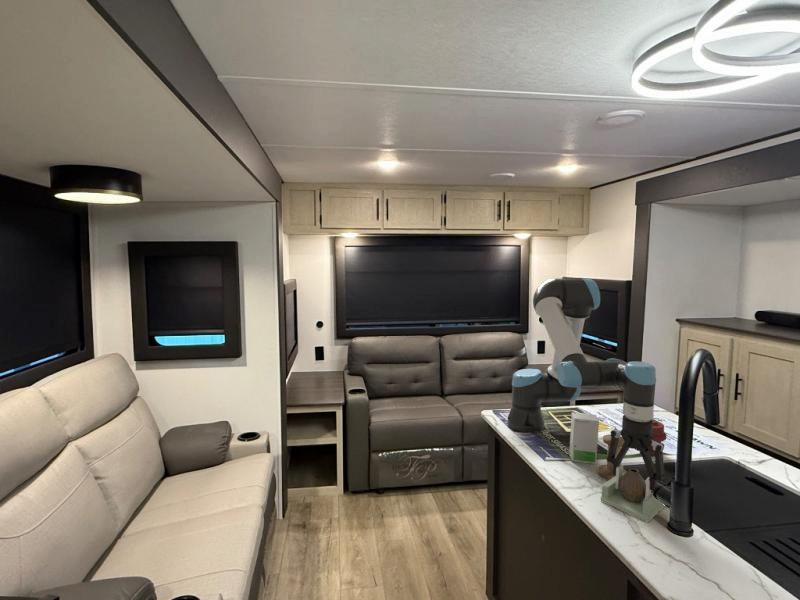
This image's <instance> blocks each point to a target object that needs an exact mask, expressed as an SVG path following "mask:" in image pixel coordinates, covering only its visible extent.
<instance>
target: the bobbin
mask: <svg viewBox="0 0 800 600" xmlns="http://www.w3.org/2000/svg"><path fill="white" fill-rule="evenodd" d="M602 442H603V443H604V444H606V445H607V451H606V452H607V454H606V457H607V456H608V451H609V447H610V442H611V434H605V435H603V437H602ZM624 442H625V441H624V440H623V438H622V436H621V435H620V437H619V441H618V446H617V450H616V455H615V459H616V457H617V455H618V453H619V452H620V450H621V448H622V446H623V444H624ZM620 465H622V463H620ZM623 472H625V473H627V472H628V471H627V470H626V469H624V468H623ZM597 475H599V476H600V477H601V478H603V479H604V480H606V481H609V480H610V479H612V478H613V477H615V476H614V475H613V464H612V463H611V462H608V461H607V460H606V464H602V465H599V466H598V469H597Z"/></svg>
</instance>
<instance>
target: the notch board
mask: <svg viewBox="0 0 800 600" xmlns="http://www.w3.org/2000/svg"><path fill="white" fill-rule="evenodd" d="M624 474H626V473H625V472H623V475H624ZM644 481H645V483H646V479H644ZM615 485H616V476H615V477H613V478H612V479H610V480H606V482H605V483H603V484H602V486H601V487H602V488H601V496H600V499H599V500H601V501H600V502H602V501H603V502H602V503H604V502H605V503H604V504H606V503H607V504H606V505H608V504H610V505H609V506H611V505H612V506H611V507H613V506H614V507H613V508H615V507H616V508H615V509H617V508H619V509H620V510H619V509H618V510H619V511H621V512H624V511H625V512H624V513H626V512H627V513H626V514H628V513H630V514H631V516H633V517H635V518H637V519H639V518H640V519H639V520H641V519H642V521H644V522H646V521H647V522H646V523H650V521H652V519H654V518H655V517H656V516H657V515H658V514H659V513H660V512H661V511H662V510H663V509H664V508H665V507H664V505H663V504H662V503H661V502H660V501H659V500H657V499H656V498H655V497H654V496H653V495H651V496H650V497H648V498H647V499H646V500H645V498H644V500H643V501H641V502H639V503H632V502H629V501H627V500H626V499H625V498H624V497H623V496H622V494H621V492H620V488H619V489H616V488H615ZM661 509H662V510H661ZM660 510H661V511H660ZM659 511H660V512H659ZM658 512H659V513H658ZM657 513H658V514H657ZM630 514H629V515H630ZM656 514H657V515H656ZM655 515H656V516H655ZM654 516H655V517H654ZM653 517H654V518H653Z"/></svg>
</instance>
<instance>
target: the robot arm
mask: <svg viewBox="0 0 800 600" xmlns="http://www.w3.org/2000/svg"><path fill="white" fill-rule="evenodd" d="M532 305H533V309H534V311H535V314H536V315H537V316H538V317H539V318H541V320H542V323H543V325H544V327H545V330H546V332H547V334H548V337H549V339H550V341H551V344H552V347H553V348H554V354H553V359H552V364H551V365H549V366H548V367H547V370H546V371H547V372H542V371H541V370H540V369H537V368H522V369H519V370H517V371H516V372H514V373H513V374H512V381H511V385H512V386H511V387H512V388H511V407H510V410H509V413H508V415H507V419H506V420H507V422H506V424H507V426H508V427H509V428H510V429H512V430H514V431H517V432H520V433H521V432H522V433H531V434H532V433H539V432H542V431H544V429H545V422H546V421H545V419H544V415H543V412H542V408H541V407H542V403H543V402H546V403H547V402H549V403H550V402H551V403H552V402H564V403H566V402H572V401H575V400H577V399H578V398H579V397H580V395H581V391H582V388H586V387H587V388H592V387H593V388H594V387H595V388H596V387H599V388H601V387H603V388H604V387H612V388H613V387H617V388H619V389H621V390H622V391H623V405H622V414H623V415H622V419H621V420H622V421H621V422H622V423H621V426H622V427H621V429H619V430H618V429H617V428H614V429H612V430H610V433H609V434H610V435H611V442H610V447H609V451H608V450H607V451H608V456H607V455H606V462H607V461H608V462H611V463H612V464H613V475H614V476H616V485H615V488H616V489H619V488H620V480H621V478H622V476H623V469H624V465H623V464H622V461H623V460H624V458H625V456H626V455H627V453H628V451H629V449H633V450H636V451H638V452H639V454H640V456H641V457H642V460H643V463H644V465H645V469H646V471H647V472H646V473H647V475H648V477H647V478H646V479H645V480H646V494H645V500H646V499H647V498H648V497H650V496H651V495H652V493H651V491H653V490H654V489H655V486H656V485H658V481H659V482H661V481H663V479H665V478H666V474H665V473H666V472H665V463H664V452H663V451H664V448H665V444H664V443H663V442H661V443H660V444H659V443H657V442H655V441H654V440H653V438H652V429H653V421H652V419H654V410H655V409H654V408H655V407H654V406H655V405H654V404H655V394H656V382H657V377H656V366H655V365H653V364H651V363H649V362H645V361H636V360H635V361H629V362H626V361H624V360H622V359H618V358H613V357H612V358H607V359H606V360H604V361H588V360H587V358H586V357H585V354H584V352H583V350H582V348H581V346H580V344H581V341H582V335H583V331H584V324H585V320H586V319H588V318H590V316H591V313H592V311H595V310H597V309H598V308H599V307H600V305H601V292H600V289H599V286H598V284H597V282H596V281H595V280H593V278H592V279H591V278H584V277H583V278H582V277H579V278H575V277H574V278H549V279H547V280H544V281H543V282H542V283H540V284H539V286H538V287H537V288H536V290H535V292H534V293H533V298H532ZM620 436H621V437H622V438H623V440H624V441H625V442H624V444H623V446H622V448H621V450H620V452H619V453H618V455H617V457H616V459H615V455H616V450H617V446H618V441H619V437H620ZM650 445H652V446H653V450H655V452H654V455H653V456H654V461H653V458H652V456H651V455H650V449H649V446H650ZM620 463H621V465H620ZM654 464H655V465H654Z"/></svg>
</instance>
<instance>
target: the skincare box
mask: <svg viewBox="0 0 800 600" xmlns="http://www.w3.org/2000/svg"><path fill="white" fill-rule="evenodd" d="M570 418H571V420H570V421H571V422H570V433H569V434H570V436H569V449H568V450H569V453H568V454H569V455H570V457H569V458H570V459H571V461H572V462H575V463H576V462H577V463H586V464H593V465H596V464H597V459H598V458H597V457H598V443H599V441H598V440H599V429H600V427H599V426H600V425H599V424H600V420H599V419H598V417H597V414H591V413H584V412H573V411H572V412H571V417H570Z"/></svg>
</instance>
